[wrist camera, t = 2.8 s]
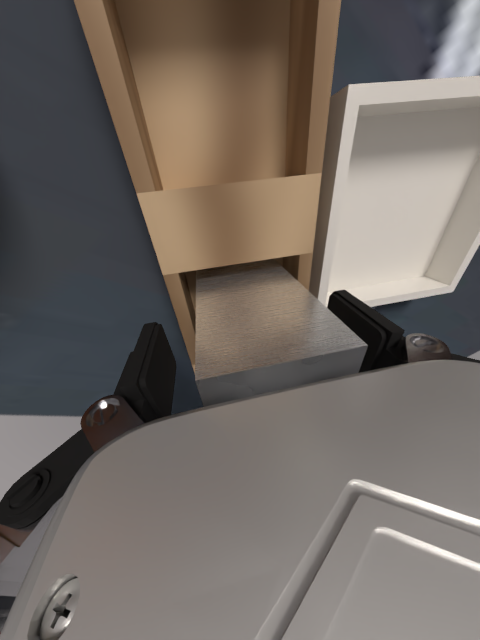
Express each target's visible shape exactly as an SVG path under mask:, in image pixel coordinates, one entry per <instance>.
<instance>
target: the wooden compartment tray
mask: <svg viewBox="0 0 480 640" xmlns="http://www.w3.org/2000/svg"><path fill="white" fill-rule="evenodd" d="M74 2H75V5H76V9H77V12H78V15H79V18H80V21H81V24H82V27H83V30H84V33H85V36H86V39H87V42H88V46H89V49H90V52H91V55H92V58H93V61H94V64H95V67H96V70H97V73H98V76H99V79H100V83H101V86H102V89H103V92H104V95H105V98H106V101H107V104H108V107H109V110H110V113H111V116H112V120H113V123H114V126H115V129H116V132H117V135H118V138H119V141H120V144H121V147H122V150H123V153H124V157H125V160H126V163H127V166H128V169H129V172H130V175H131V178H132V181H133V184H134V187H135V190H136V193H137V197H138V200H139V203H140V206H141V209H142V212H143V215H144V218H145V221H146V224H147V227H148V230H149V234H150V237H151V240H152V243H153V246H154V249H155V252H156V255H157V258H158V261H159V264H160V267H161V271H162V274H163V277H164V280H165V283H166V286H167V289H168V292H169V295H170V298H171V301H172V304H173V308H174V311H175V314H176V317H177V320H178V323H179V326H180V329H181V332H182V335H183V338H184V341H185V345H186V348H187V351H188V354H189V357H190V360H191V363H192V366H193V369H194V372H195V341H196V270H201V269H207V268H214V267H220V266H227V265H234V264H240V263H247V262H254V261H260V260H267V259H274V260H276V261H277V262H278V263H279V264H280V265H281V266H282V267H283V268H284V269H285V270H286V271H288V272H289V273H290V274H291V275H292V276H293V277H294V278H295V279H296V280H297V281H298V282H300V283H301V284H302V285H303V286H304V287H305V288H306V289H307V290H308V291H309V283H310V274H311V265H312V256H313V247H314V238H315V229H316V220H317V212H318V203H319V194H320V185H321V176H322V167H323V158H324V149H325V140H326V131H327V122H328V113H329V104H330V95H331V86H332V77H333V68H334V59H335V50H336V41H337V32H338V23H339V14H340V5H341V0H74Z"/></svg>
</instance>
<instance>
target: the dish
mask: <svg viewBox="0 0 480 640" xmlns="http://www.w3.org/2000/svg"><path fill="white" fill-rule="evenodd" d="M479 245H480V76H470V77H455V78H440V79H425V80H410V81H395V82H380V83H365V84H350V85H347V86H346V87H345V88H343V89H342V90H340V91H339V92H337V93H336V94H334V95H333V96H331V97H330V104H329V113H328V122H327V131H326V140H325V149H324V158H323V167H322V176H321V185H320V194H319V203H318V212H317V220H316V229H315V238H314V247H313V256H312V265H311V274H310V283H309V292H310V293H311V294H313V295H314V296H315V297H316V298H317V299H318V300H319V301H320V302H321V303H322V304H323V305H325V306H326V307H327V306H328V301H329V296H330V295H331V294H332V293H333V292H334V291H339V290H346V291H347V292H349V293H350V294H352V295H353V296H355V297H356V298H358V299H359V300H361V301H362V302H364V303H365V304H367V305H368V306H369V307H373V306H379V305H384V304H390V303H395V302H401V301H406V300H411V299H417V298H422V297H428V296H433V295H439V294H444V293H450V292H453V291H454V289H455V287H456V286H457V284H458V282H459V280H460V278H461V277H462V275H463V273H464V271H465V270H466V268H467V266H468V264H469V262H470V261H471V259H472V257H473V255H474V254H475V252H476V250H477V248H478V246H479Z"/></svg>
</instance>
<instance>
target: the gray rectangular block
mask: <svg viewBox="0 0 480 640" xmlns="http://www.w3.org/2000/svg"><path fill="white" fill-rule="evenodd" d="M367 347H368V345H367V344H366V343H365V342H364V341H363V340H362V339H361V338H359V337H358V336H357V335H356V334H355V333H354V332H353V331H352V330H351V329H350V328H349V327H347V326H346V325H345V324H344V323H343V322H342V321H341V320H340V319H339V318H338V317H337V316H335V315H334V314H333V313H332V312H331V311H330V310H329V309H328V308H327V307H326V306H325V305H323V304H322V303H321V302H320V301H319V300H318V299H317V298H316V297H315V296H314V295H313V294H311V293H310V292H309V291H308V290H307V289H306V288H305V287H304V286H303V285H302V284H301V283H300V282H298V281H297V280H296V279H295V278H294V277H293V276H292V275H291V274H290V273H289V272H288V271H286V270H285V269H284V268H283V267H282V266H281V265H280V264H279V263H278V262H277V261H276V260H274V259H267V260H260V261H254V262H247V263H240V264H234V265H227V266H220V267H214V268H207V269H201V270H196V341H195V382H196V385H197V388H198V391H199V394H200V397H201V400H202V403H203V406H204V407H206V406H210V405H214V404H219V403H223V402H228V401H232V400H237V399H241V398H246V397H250V396H255V395H259V394H264V393H268V392H273V391H277V390H282V389H286V388H291V387H296V386H300V385H305V384H309V383H314V382H319V381H323V380H328V379H333V378H337V377H342V376H347V375H351V374H356V373H358V372H359V370H360V367H361V364H362V361H363V358H364V356H365V353H366V350H367Z"/></svg>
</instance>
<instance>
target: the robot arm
mask: <svg viewBox="0 0 480 640" xmlns="http://www.w3.org/2000/svg"><path fill="white" fill-rule="evenodd" d="M327 308H328V309H329V310H330V311H331V312H332V313H333V314H334V315H335V316H337V317H338V318H339V319H340V320H341V321H342V322H343V323H344V324H345V325H346V326H347V327H349V328H350V329H351V330H352V331H353V332H354V333H355V334H356V335H357V336H358V337H359V338H361V339H362V340H363V341H364V342H365V343H366V344H367V345H368V347H367V350H366V353H365V356H364V358H363V361H362V364H361V367H360V370H359V372H358V373H356V374H351V375H347V376H342V377H337V378H333V379H328V380H323V381H319V382H314V383H309V384H305V385H300V386H296V387H291V388H286V389H282V390H277V391H273V392H268V393H264V394H259V395H255V396H250V397H246V398H241V399H237V400H232V401H228V402H223V403H219V404H214V405H210V406H206V407H202V408H198V409H193V410H189V411H185V412H181V413H177V414H173V415H171V409H172V400H173V392H174V383H175V374H176V361H175V358H174V356H173V353H172V350H171V348H170V345H169V343H168V340H167V337H166V335H165V332H164V330H163V327H162V325H161V324H157V322H154V323H148V324H144V326H143V329H142V331H141V334H140V336H139V339H138V341H137V344H136V347H135V349H134V351H133V352H131V353H130V355H129V357H128V360H127V362H126V365H125V367H124V370H123V372H122V374H121V377H120V379H119V382H118V384H117V387H116V389H115V392H114V394H113V395H109V396H106V397H103V398H101V399H99V400H98V401H96V402H95V403H94V404H92V405H91V406H90V407H89V408H88V409H87V410H86V411H85V413H84V415H83V417H82V419H81V427H82V429H81V430H80V431H78V432H77V433H76V434H75V435H73V436H72V437H71V438H70V439H68V440H67V441H66V442H65V443H63V444H62V445H61V446H60V447H58V448H57V449H56V450H55V451H54V452H52V453H51V454H50V455H48V456H47V457H46V458H45V459H43V460H42V461H41V462H40V463H38V464H37V465H36V466H35V467H33V468H32V469H31V470H29V471H28V472H27V473H26V474H24V475H23V476H22V477H21V478H20V479H19V480H18V481H17V482H15V483H14V484H13V485H12V487H11V488H10V489H9V490H8V491H7V493H6V494H5V495H4V497H3V499H2V500H1V502H0V640H480V361H479V360H475V359H471V358H467V357H463V356H459V355H455V354H451V353H450V351H449V348H448V347H447V345H446V344H445V343H444V342H442V341H441V340H439V339H437V338H435V337H432V336H429V335H425V334H418V333H417V334H410V335H408V336H407V337H406V338H405V337H404V336H402V335H403V333H404V331H405V330H403V329H402V328H400V327H399V326H397V325H396V324H394V323H393V322H391V321H390V320H388V319H387V318H386V317H384V316H383V315H381V314H380V313H378V312H377V311H375V310H374V309H372V308H371V307H369V306H368V305H367V304H365V303H364V302H362V301H361V300H359V299H358V298H356V297H355V296H353V295H352V294H350V293H349V292H347V291H346V290H339V291H334V292H333V293H332V294H331V295H330V296H329V301H328V306H327Z"/></svg>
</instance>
